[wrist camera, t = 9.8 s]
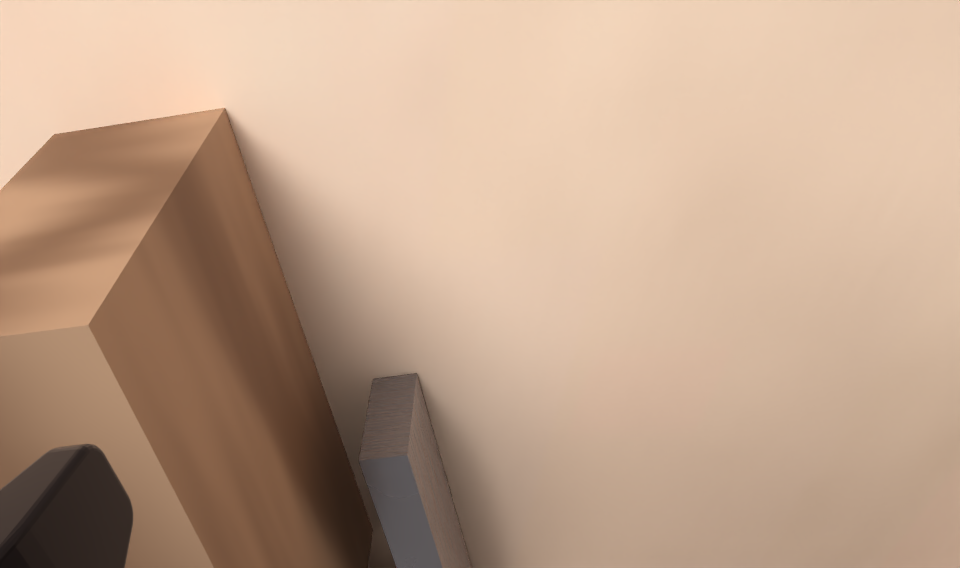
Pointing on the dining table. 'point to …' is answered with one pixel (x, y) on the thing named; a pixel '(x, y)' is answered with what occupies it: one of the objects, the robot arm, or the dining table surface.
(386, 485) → the bracket
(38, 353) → the walnut top rail
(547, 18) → the dining table surface
